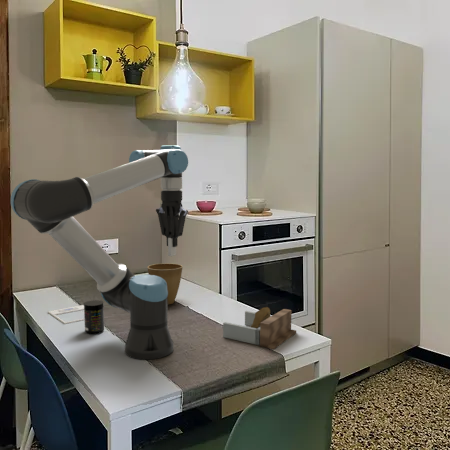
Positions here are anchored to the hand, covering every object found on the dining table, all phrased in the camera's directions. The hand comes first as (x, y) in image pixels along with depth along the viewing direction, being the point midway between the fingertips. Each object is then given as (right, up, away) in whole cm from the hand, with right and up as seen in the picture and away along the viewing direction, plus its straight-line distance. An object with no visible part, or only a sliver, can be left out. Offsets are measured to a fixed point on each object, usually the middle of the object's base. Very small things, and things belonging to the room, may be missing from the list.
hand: (172, 255), depth 169 cm
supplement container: (-27, -27, -2) cm, 38 cm away
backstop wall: (+36, -28, -9) cm, 47 cm away
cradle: (+29, -27, -4) cm, 40 cm away
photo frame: (-40, -25, +17) cm, 50 cm away
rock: (+30, -28, -5) cm, 41 cm away
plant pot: (-7, -23, +34) cm, 41 cm away
